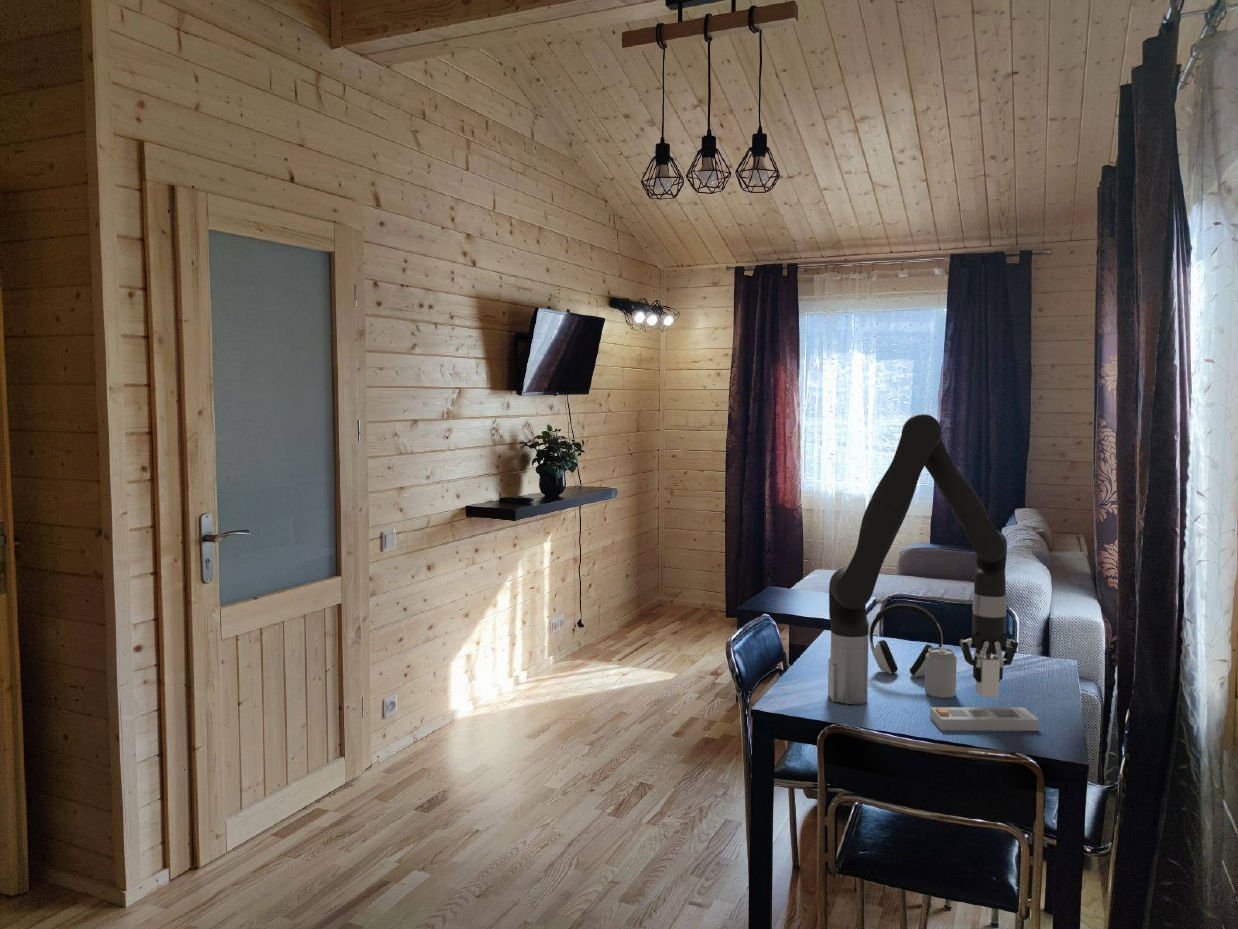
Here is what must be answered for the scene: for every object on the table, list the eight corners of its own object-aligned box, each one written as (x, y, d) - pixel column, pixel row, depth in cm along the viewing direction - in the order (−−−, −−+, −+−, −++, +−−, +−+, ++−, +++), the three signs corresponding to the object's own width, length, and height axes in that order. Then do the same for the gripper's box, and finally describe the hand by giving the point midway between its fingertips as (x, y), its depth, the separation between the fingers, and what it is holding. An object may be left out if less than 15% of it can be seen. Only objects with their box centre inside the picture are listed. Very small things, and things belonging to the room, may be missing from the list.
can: (919, 695, 230) (920, 649, 229) (932, 688, 235) (934, 644, 234) (947, 702, 225) (948, 655, 224) (960, 695, 230) (962, 649, 229)
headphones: (866, 675, 247) (868, 603, 245) (870, 666, 254) (871, 597, 253) (941, 683, 239) (942, 609, 238) (942, 674, 247) (944, 603, 246)
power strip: (941, 732, 205) (941, 716, 205) (929, 719, 213) (930, 704, 213) (1038, 732, 205) (1038, 716, 204) (1023, 720, 213) (1024, 704, 212)
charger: (982, 696, 218) (983, 652, 217) (976, 691, 222) (976, 647, 221) (998, 696, 218) (999, 652, 217) (992, 691, 222) (993, 647, 221)
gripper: (965, 616, 214) (964, 686, 216) (1025, 616, 214) (1023, 686, 215) (954, 608, 222) (953, 676, 223) (1012, 608, 222) (1010, 676, 223)
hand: (987, 681), depth 219 cm, fingers closed on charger, 4 cm apart
